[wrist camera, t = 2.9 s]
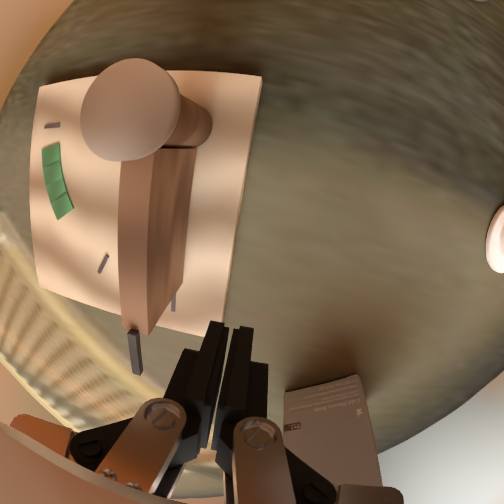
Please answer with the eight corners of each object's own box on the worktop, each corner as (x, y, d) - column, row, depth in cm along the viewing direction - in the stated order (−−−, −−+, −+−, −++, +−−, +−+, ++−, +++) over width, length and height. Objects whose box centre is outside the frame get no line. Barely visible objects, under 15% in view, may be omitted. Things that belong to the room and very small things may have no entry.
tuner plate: (49, 88, 17) (38, 86, 15) (262, 82, 16) (261, 75, 15) (47, 280, 24) (38, 287, 22) (222, 329, 23) (218, 341, 22)
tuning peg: (167, 96, 16) (90, 64, 7) (225, 99, 15) (181, 55, 7) (150, 305, 21) (98, 379, 13) (196, 317, 21) (160, 400, 13)
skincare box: (358, 370, 24) (394, 512, 9) (363, 408, 26) (388, 524, 12) (278, 391, 26) (273, 534, 11) (294, 425, 28) (295, 542, 13)
